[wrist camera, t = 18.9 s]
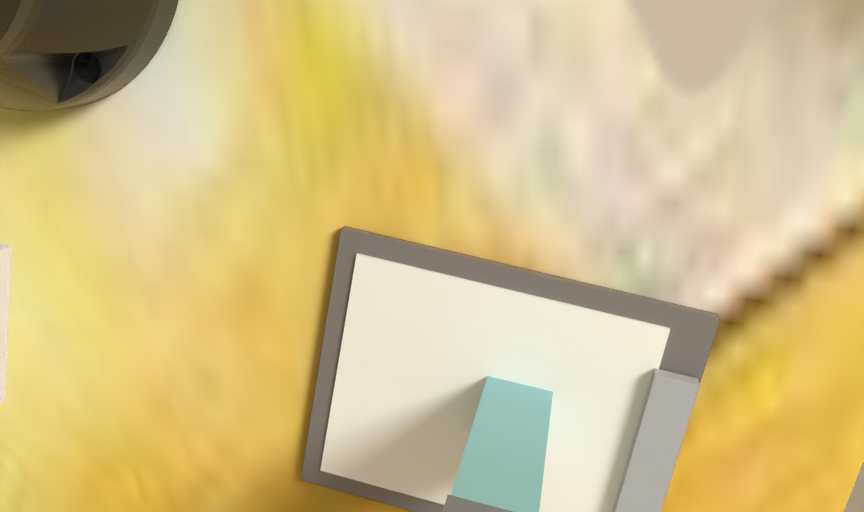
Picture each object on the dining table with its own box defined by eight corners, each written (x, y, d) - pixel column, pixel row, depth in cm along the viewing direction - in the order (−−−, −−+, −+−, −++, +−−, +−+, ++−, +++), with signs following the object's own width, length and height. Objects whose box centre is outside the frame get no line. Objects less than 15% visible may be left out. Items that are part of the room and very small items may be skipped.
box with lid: (472, 435, 41) (420, 609, 29) (486, 373, 40) (437, 526, 28) (540, 452, 41) (516, 636, 28) (555, 390, 40) (537, 553, 27)
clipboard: (304, 474, 44) (294, 490, 43) (344, 226, 40) (334, 233, 39) (639, 567, 42) (641, 587, 41) (718, 314, 38) (723, 325, 36)
